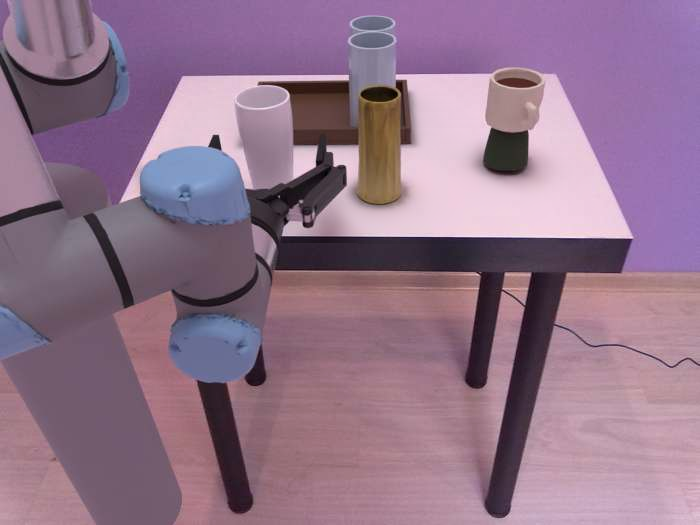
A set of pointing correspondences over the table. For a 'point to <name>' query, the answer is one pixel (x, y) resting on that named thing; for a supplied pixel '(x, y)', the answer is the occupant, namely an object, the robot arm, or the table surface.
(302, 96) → the tray
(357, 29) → the tumbler
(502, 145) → the character mug
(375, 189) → the vase
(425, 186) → the table surface
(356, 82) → the tumbler
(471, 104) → the table surface
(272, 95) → the drinking glass
